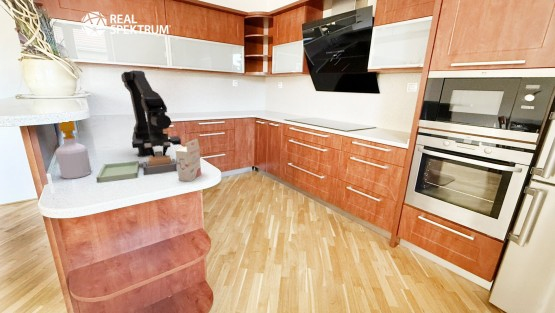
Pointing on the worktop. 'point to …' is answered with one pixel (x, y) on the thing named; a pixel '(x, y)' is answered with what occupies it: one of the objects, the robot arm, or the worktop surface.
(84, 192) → the worktop surface
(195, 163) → the ink cartridge box
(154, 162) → the raised panel orange block
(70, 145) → the soap bottle
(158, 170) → the printer bay
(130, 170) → the tray
